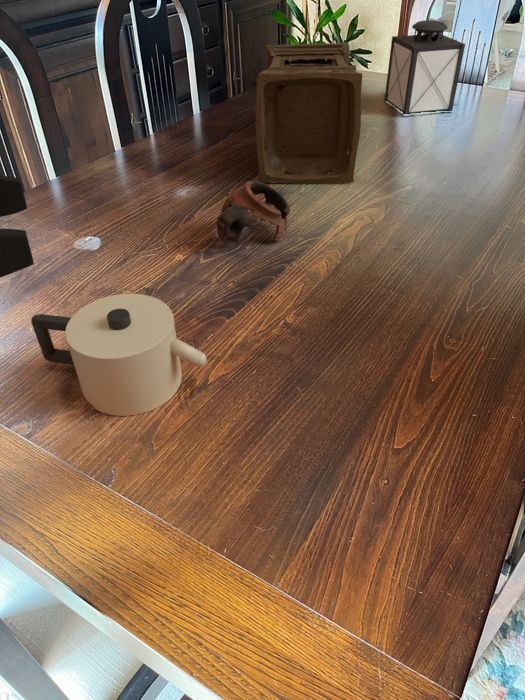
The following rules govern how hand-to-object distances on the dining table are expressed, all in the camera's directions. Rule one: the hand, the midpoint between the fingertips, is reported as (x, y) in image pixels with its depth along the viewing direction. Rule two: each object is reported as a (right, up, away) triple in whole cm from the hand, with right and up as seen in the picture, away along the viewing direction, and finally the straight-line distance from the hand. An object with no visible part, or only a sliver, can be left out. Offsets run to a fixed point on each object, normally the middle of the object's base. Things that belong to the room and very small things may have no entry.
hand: (26, 218), depth 36 cm
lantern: (+50, +45, +87) cm, 110 cm away
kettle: (+3, -12, +18) cm, 22 cm away
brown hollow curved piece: (+13, +7, +43) cm, 45 cm away
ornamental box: (+24, +30, +70) cm, 79 cm away
